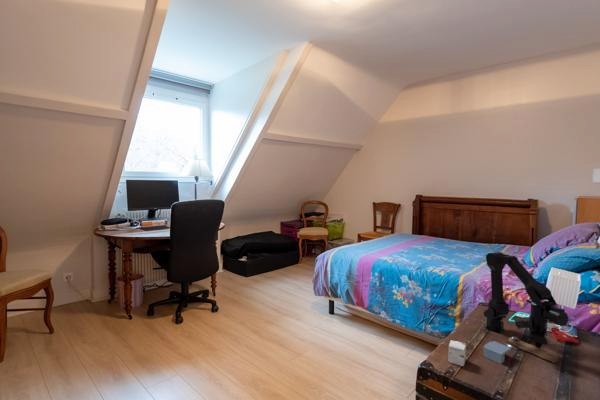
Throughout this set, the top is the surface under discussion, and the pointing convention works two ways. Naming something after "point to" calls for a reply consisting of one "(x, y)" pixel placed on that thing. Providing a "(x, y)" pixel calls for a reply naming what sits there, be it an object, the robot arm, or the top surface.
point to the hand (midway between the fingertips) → (537, 349)
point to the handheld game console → (517, 315)
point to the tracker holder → (563, 335)
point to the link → (533, 350)
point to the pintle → (511, 345)
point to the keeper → (496, 351)
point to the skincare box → (457, 353)
